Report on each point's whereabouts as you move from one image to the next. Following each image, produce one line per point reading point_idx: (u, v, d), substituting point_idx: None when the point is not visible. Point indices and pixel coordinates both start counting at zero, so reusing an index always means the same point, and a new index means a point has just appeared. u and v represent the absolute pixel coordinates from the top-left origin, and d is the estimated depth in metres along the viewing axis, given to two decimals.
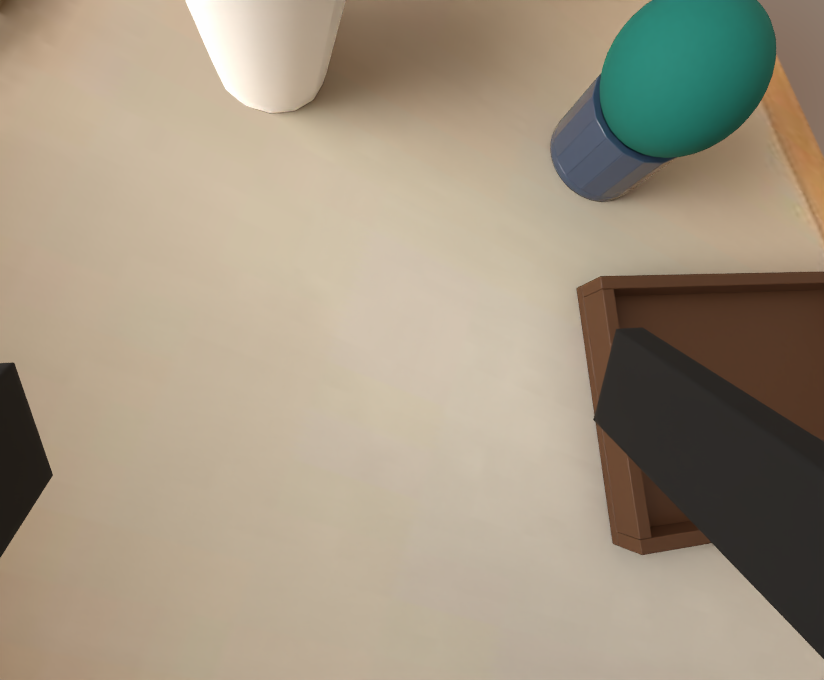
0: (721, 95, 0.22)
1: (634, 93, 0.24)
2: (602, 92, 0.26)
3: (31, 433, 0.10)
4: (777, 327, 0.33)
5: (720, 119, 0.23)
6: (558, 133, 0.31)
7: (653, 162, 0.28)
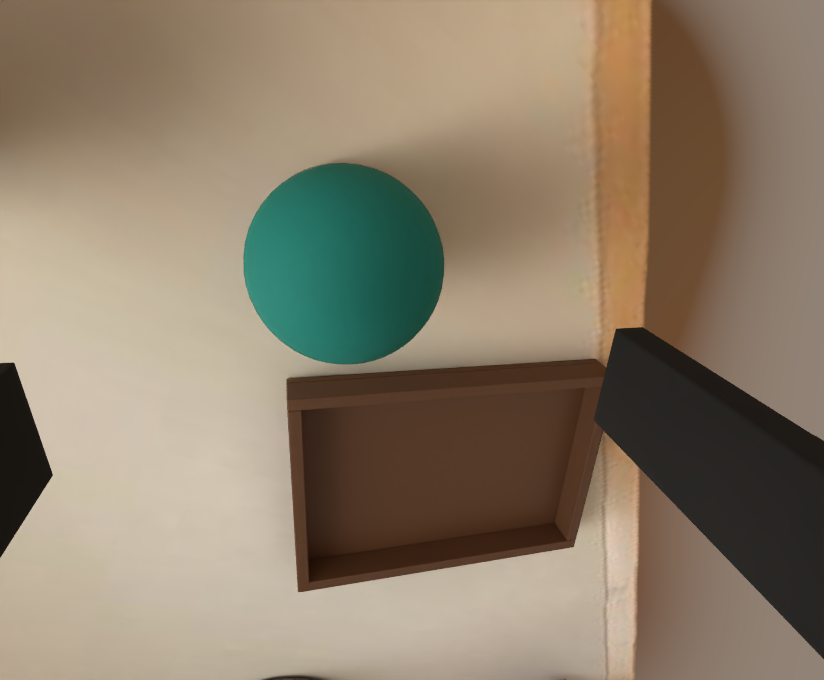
0: (337, 360, 0.19)
1: None
2: None
3: (31, 433, 0.10)
4: (502, 410, 0.34)
5: None
6: None
7: None
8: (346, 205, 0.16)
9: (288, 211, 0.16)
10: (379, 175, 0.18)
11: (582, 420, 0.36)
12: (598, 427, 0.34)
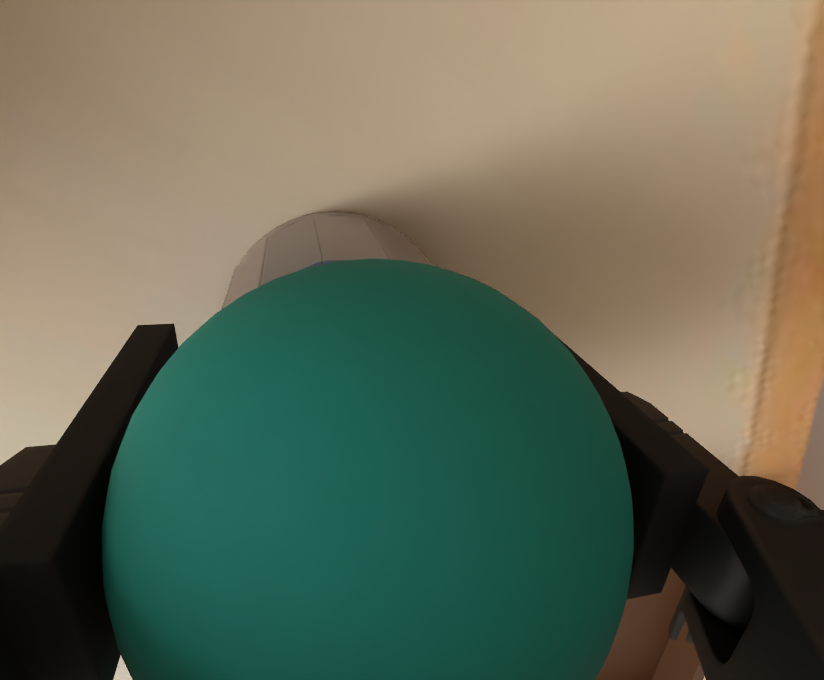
0: None
1: None
2: None
3: None
4: None
5: None
6: None
7: None
8: (395, 470, 0.05)
9: (200, 477, 0.05)
10: (481, 315, 0.06)
11: None
12: None
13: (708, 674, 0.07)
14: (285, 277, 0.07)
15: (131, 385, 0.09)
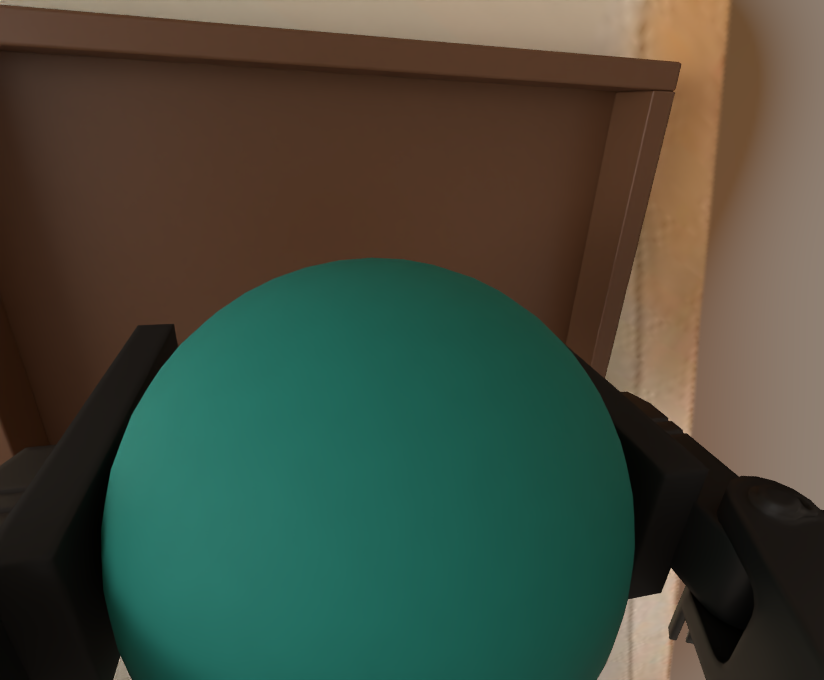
0: None
1: None
2: None
3: None
4: (435, 164, 0.16)
5: None
6: None
7: None
8: (396, 469, 0.05)
9: (199, 477, 0.05)
10: (482, 314, 0.06)
11: (601, 203, 0.18)
12: (636, 200, 0.16)
13: (708, 675, 0.07)
14: (285, 276, 0.07)
15: (132, 385, 0.09)
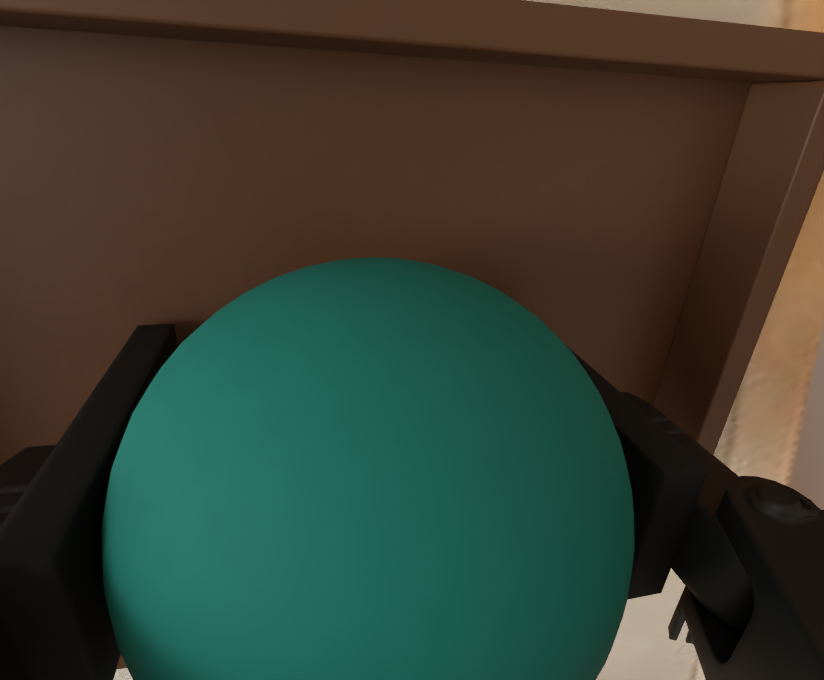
0: None
1: None
2: None
3: None
4: (500, 185, 0.12)
5: None
6: None
7: None
8: (396, 467, 0.05)
9: (199, 475, 0.05)
10: (482, 313, 0.06)
11: (719, 236, 0.13)
12: (783, 235, 0.12)
13: (708, 674, 0.07)
14: (285, 275, 0.07)
15: (132, 385, 0.09)
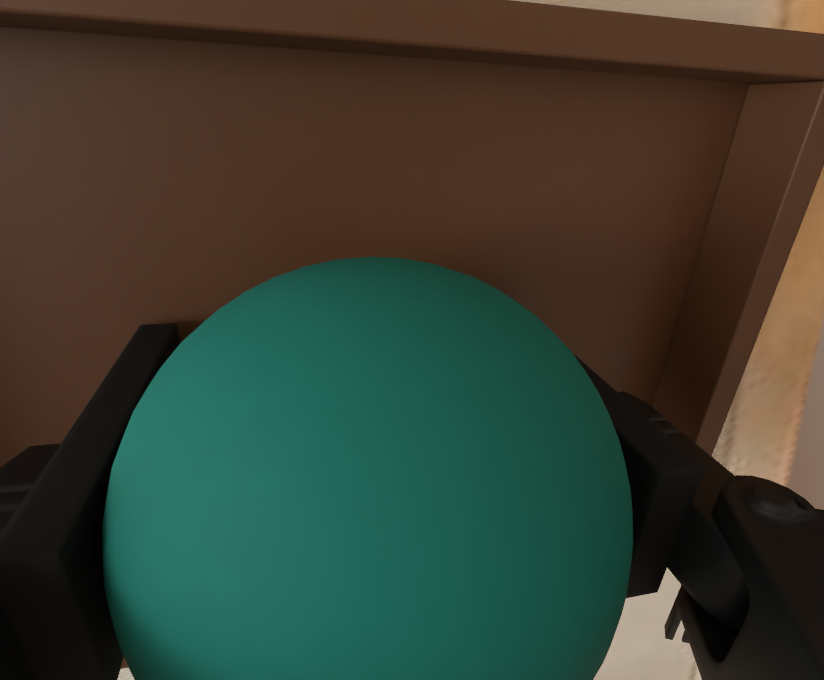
0: None
1: None
2: None
3: None
4: (499, 186, 0.12)
5: None
6: None
7: None
8: (396, 465, 0.05)
9: (199, 473, 0.05)
10: (481, 312, 0.06)
11: (717, 236, 0.13)
12: (781, 235, 0.12)
13: (705, 675, 0.07)
14: (285, 275, 0.07)
15: (136, 384, 0.09)
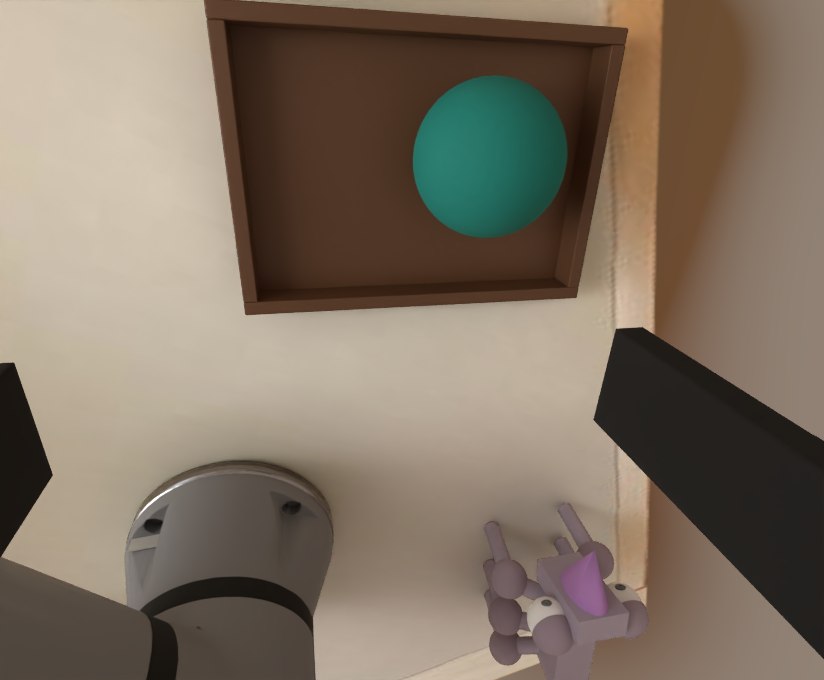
0: (531, 213, 0.24)
1: (464, 192, 0.23)
2: (424, 166, 0.24)
3: (31, 433, 0.10)
4: None
5: (522, 226, 0.25)
6: None
7: None
8: (530, 86, 0.23)
9: (500, 92, 0.22)
10: None
11: (585, 117, 0.29)
12: (605, 111, 0.28)
13: None
14: (456, 85, 0.24)
15: None
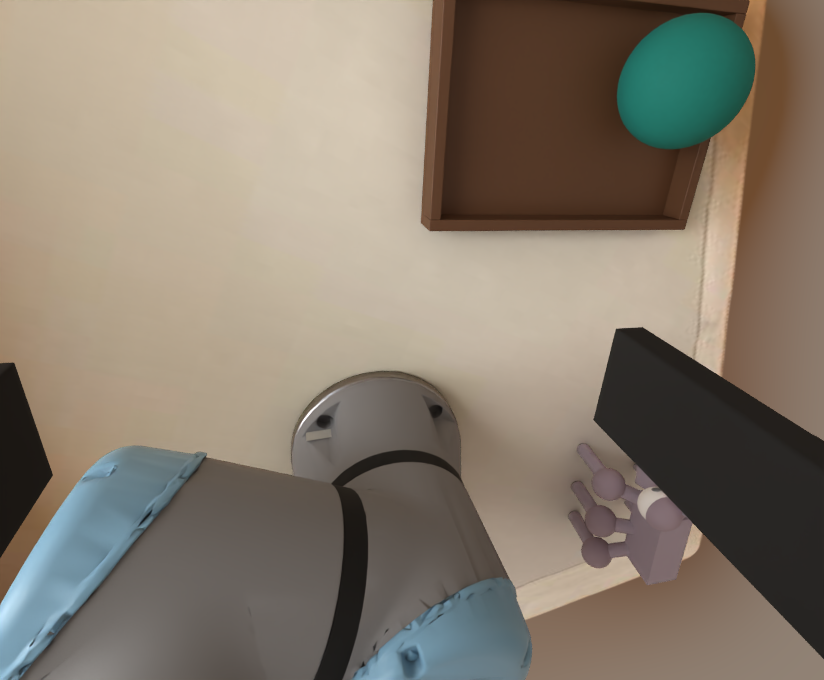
0: None
1: (734, 83, 0.29)
2: (694, 70, 0.29)
3: (31, 433, 0.10)
4: (629, 51, 0.35)
5: None
6: None
7: None
8: None
9: (722, 16, 0.30)
10: None
11: None
12: None
13: None
14: (664, 23, 0.31)
15: None
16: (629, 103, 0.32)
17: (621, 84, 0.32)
